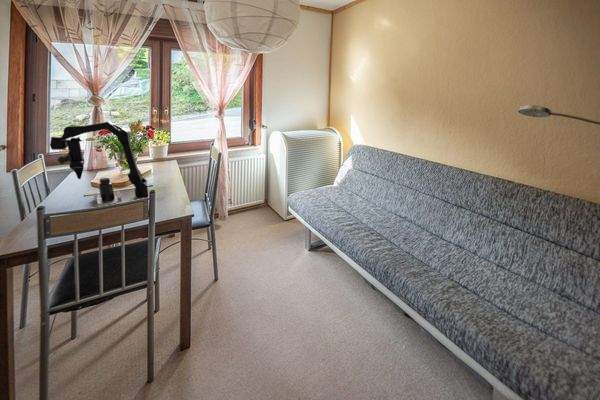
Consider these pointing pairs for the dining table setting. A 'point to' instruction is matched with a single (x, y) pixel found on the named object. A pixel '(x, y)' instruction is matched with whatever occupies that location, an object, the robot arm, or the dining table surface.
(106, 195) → the supplement bottle
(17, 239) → the dining table surface
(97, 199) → the track
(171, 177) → the dining table surface
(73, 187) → the dining table surface
